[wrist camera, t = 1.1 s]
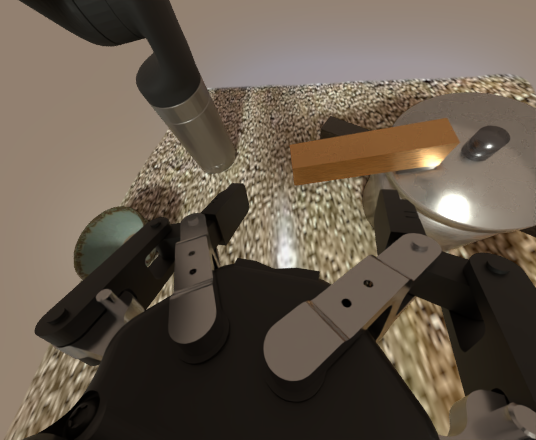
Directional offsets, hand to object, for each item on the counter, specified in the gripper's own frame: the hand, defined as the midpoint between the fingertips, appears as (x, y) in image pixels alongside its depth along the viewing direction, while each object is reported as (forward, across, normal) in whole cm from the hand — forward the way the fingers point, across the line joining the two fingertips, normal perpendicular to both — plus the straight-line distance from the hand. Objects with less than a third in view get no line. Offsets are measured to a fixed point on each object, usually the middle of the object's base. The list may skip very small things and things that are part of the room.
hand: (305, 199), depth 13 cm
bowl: (+9, +35, +21) cm, 42 cm away
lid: (+18, -11, +6) cm, 22 cm away
